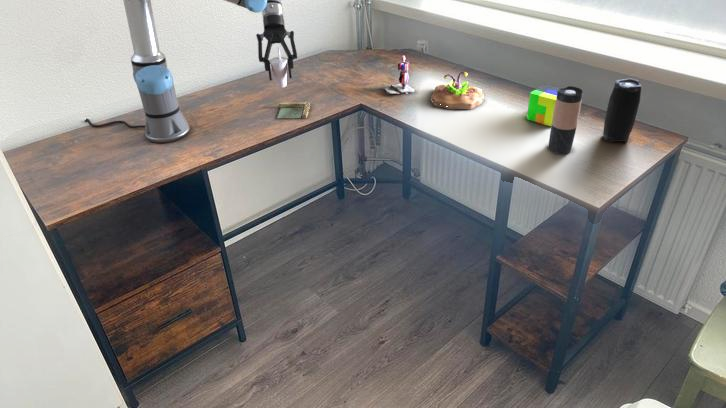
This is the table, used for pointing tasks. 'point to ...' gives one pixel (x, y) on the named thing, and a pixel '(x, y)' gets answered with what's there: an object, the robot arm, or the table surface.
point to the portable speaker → (622, 110)
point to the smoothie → (279, 70)
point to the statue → (401, 80)
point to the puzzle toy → (542, 104)
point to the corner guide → (293, 110)
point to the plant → (457, 94)
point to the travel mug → (565, 119)
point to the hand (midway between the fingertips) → (280, 77)
